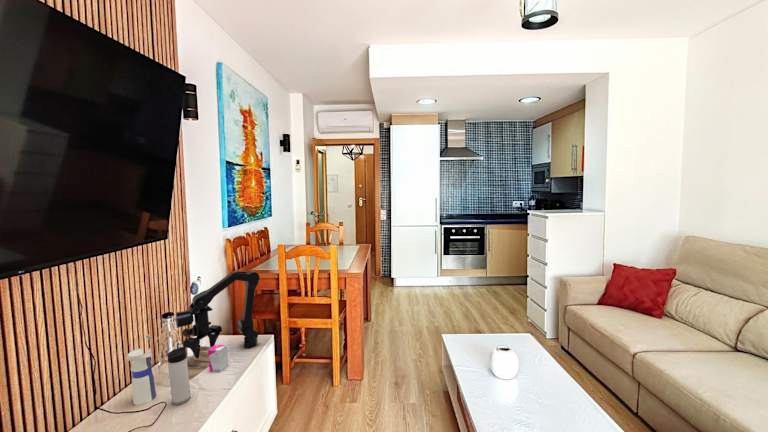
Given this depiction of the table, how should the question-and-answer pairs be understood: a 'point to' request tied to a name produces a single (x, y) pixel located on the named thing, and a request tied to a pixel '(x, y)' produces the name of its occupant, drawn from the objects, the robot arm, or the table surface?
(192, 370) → the walnut board
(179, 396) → the travel mug
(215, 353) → the supplement box
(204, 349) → the sanding block
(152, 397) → the water bottle
